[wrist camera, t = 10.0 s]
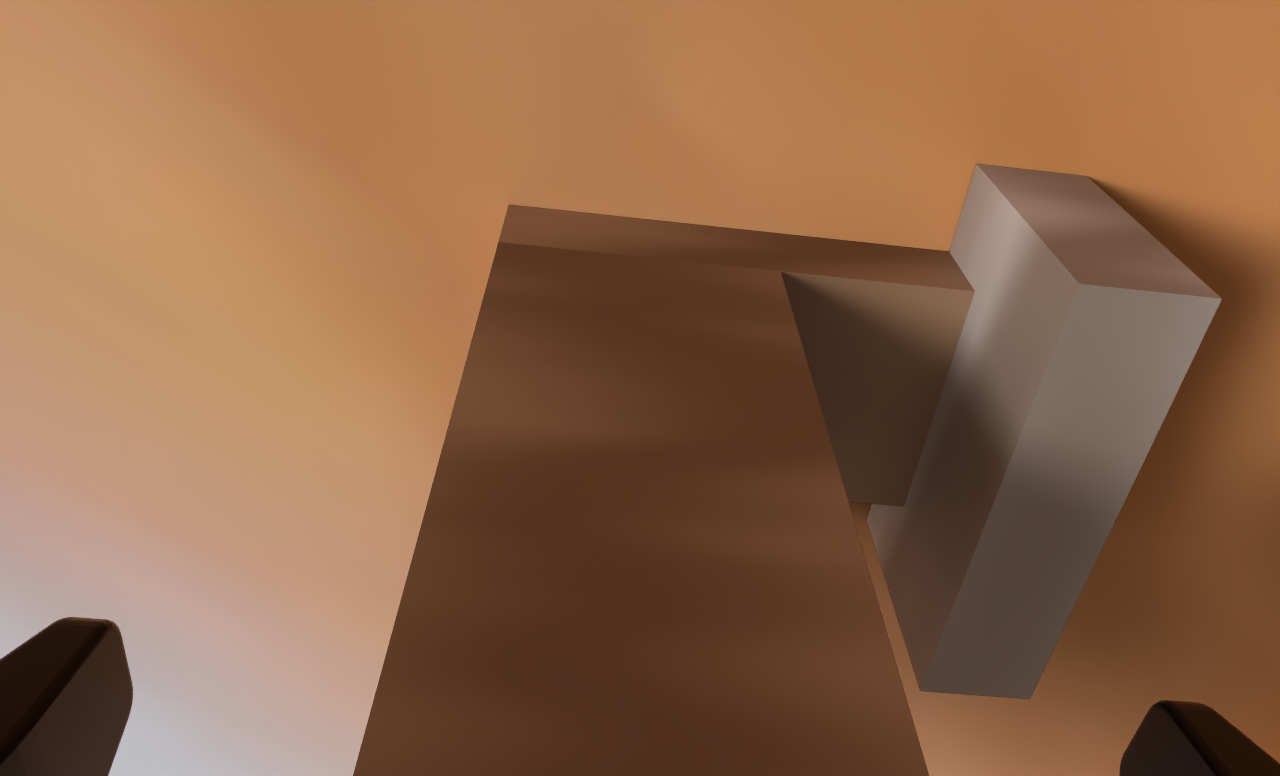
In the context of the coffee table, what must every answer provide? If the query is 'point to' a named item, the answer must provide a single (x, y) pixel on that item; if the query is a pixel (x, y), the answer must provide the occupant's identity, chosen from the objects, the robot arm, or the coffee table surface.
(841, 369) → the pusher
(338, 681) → the coffee table surface
